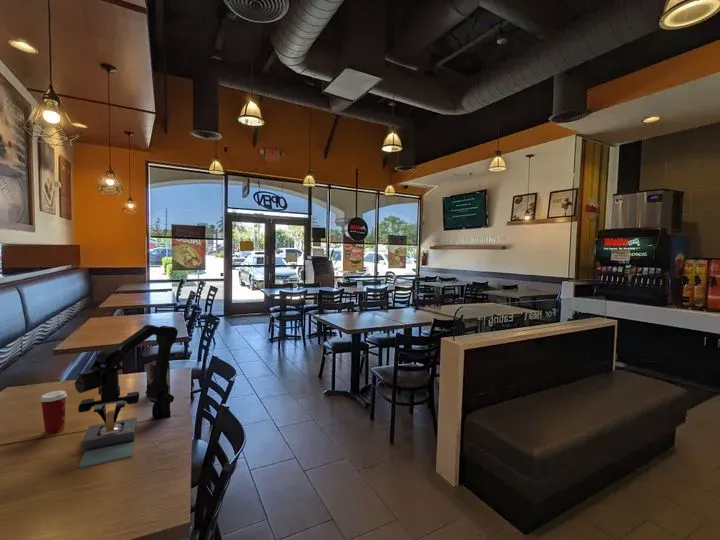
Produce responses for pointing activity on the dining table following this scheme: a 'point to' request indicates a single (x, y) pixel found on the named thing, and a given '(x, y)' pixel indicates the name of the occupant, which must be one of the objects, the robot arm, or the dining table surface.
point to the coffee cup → (54, 411)
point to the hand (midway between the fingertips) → (110, 423)
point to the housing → (109, 435)
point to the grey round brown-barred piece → (110, 424)
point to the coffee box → (151, 370)
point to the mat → (106, 454)
